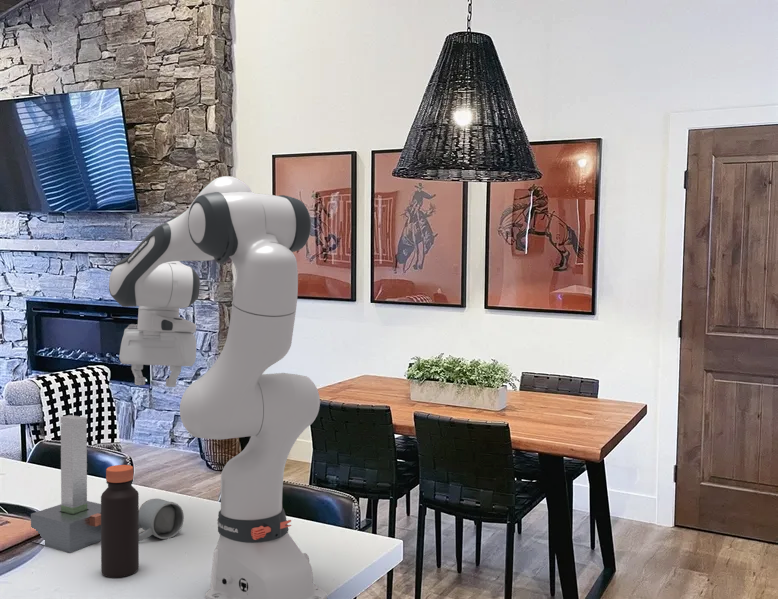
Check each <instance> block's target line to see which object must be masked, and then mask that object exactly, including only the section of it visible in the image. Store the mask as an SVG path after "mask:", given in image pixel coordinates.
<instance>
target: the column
mask: <svg viewBox="0 0 778 599" xmlns="http://www.w3.org/2000/svg"><path fill="white" fill-rule="evenodd" d="M87 420H88V417H86V416H85V417H84V416H79V415H72V414H68V415H64V416H60V491H61V492H60V498H61V500H60V502H61V503H60V504H61V513H65V514H69V515H75V514H78V513H81V512H84V511H87V501H88V472H87V470H88V463H87V462H88V458H87V457H88V451H87V450H88V449H87V447H88V445H87V440H88V438H87V436H88V434H87V427H88V426H87V423H88V421H87Z"/></svg>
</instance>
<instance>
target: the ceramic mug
mask: <svg viewBox="0 0 778 599" xmlns="http://www.w3.org/2000/svg"><path fill="white" fill-rule="evenodd" d="M184 521H185V514H184V511H183V508H182V506H180V505H179V504H178V503H176V502H173V501H169V500H166V499H161V498H150V499H148V500H145V501H144V503H143V504H141V506H140V507H139V530H141V529H142V530H144V531H143V532H139V542H142V541H144V540H146V539H148V538H150V537H151V536H153V537H156V538H158V539H161V540H168V538H169V539H171V537H172V538H174V536H176V535H177V534H178V533H179V532H180V531H181V529H182V527H183V525H184Z"/></svg>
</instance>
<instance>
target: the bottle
mask: <svg viewBox="0 0 778 599" xmlns="http://www.w3.org/2000/svg"><path fill="white" fill-rule="evenodd" d="M105 480H106V482H105V483H106V484H107V488H106V489H105V490H104V491H103V492H102V493H101V496H100V504H101V541H100V554H101V555H100V559H101V560H100V565H101V566H100V567H101V568H100V570H101V573H102V574H101V575H103V576H105V577H107V578H112V579H113V578H117V579H118V578H125V577H128V576H131V575H133V574H135V573H136V572H137V571H138V570H139V567H140V566H139V565H140V564H139V563H140V557H139V556H140V555H139V553H140V552H139V550H140V549H139V548H140V545H139V542H140V541H139V534H140V531H139V530H140V529H139V509H140V507H139V505H140V504H139V500H140V499H139V497H140V496H139V495H140V494H139V492H138V490H137V489H136V488H135V487H133V483H132V482H134V466H132V465H130V464H129V465H128V464H118V465H117V464H116V465H111V466H108V467H107V468H106V469H105Z"/></svg>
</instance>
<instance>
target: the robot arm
mask: <svg viewBox="0 0 778 599" xmlns="http://www.w3.org/2000/svg"><path fill="white" fill-rule="evenodd" d="M311 230H312V220H311V215H310V212H309V210H308V208H307V206H306V205H305V203H304V202H303V201H302V200H300V199H298V198H295V197H292V196H289V195H284V194H280V195H274V194H268V193H256V192H254V191H252V189H251V188H250V186H249V185H248V184H246V183H245V182H244V181H243V180H241V179H239V178H238V177H234V176H229V175H226V176H220V177H217V178H215V179H213V180H212V181H210V182H209V183H207V185H206V186H205V187H204V188H203V189H201V191H200V192H199V193H198V194H197V195H196V197H195V198H194V200H193V201H192V202H191V204H190V206H189V207H188V208H187V209H186V210H185V211H184V212H182V213H181V214H180V215H178V216H176V217H174V218H173V219H171V220H169V221H167V222H165V223H162V224H160V225H158V226H156V227H155V228H153V229H152V230H151V231H150V232H149V233H148V235H146V236H145V237H144V239H142V241H141V242H139V244H138V245H137V246H136V247H135V248H134V249H133V251H131V253H130V254H128V255H127V256H126V257H125V258H122V259H120V261H118V262H116V264H115V265H114V266H113V268H112V269H111V272H110V276H109V282H108V290H109V294H110V296H111V297H112V299H114V300H115V301H116V302H117V303H118V304H119V305H120V307H121V306H122V307H125V308H129V307H131V308H132V307H133V308H135V307H138V312H137V313H138V315H137V324H135V323H131V324H128V326H127V327H125V328H124V331H123V336H122V339H121V343H120V348H119V356H118V357H119V358H118V359H119V361H120V363H121V365H131V367H130V369H131V371H132V374H133V376H134V385H135V386H145V385H146V377H144V376H143V372H142V370H143V369H144V365H145V366H166V367H167V366H169V371H170V374H169V377H168V378H165V387H166V388H167V387H168V388H175V387H176V386H177V379H178V378H179V375H180V374H181V372H182V367H193V366H194V364H195V362H196V359H197V339H196V337H195V335H194V333H196V331H197V324H196V323H194V322H192V321H190V320H187V319H186V318H183V317H181V316H180V310H179V309H185V308H189V307H190V306H192V305H193V304H194V303H195V302H196V301H197V299H199V296H200V286H201V284H200V280H201V279H200V276H199V275H198V273H197V272H196V271H195V269H194V268H193V267H192V266H189V265H186V264H183V263H182V262H186V261H187V262H198V261H199V262H200V261H201V262H202V261H203V262H204V261H207V262H208V261H212V260H215V262H216V263H218V264H220V265H223V264H225V263H226V262H227V261H228V260H229V258H230V260H231V261H232V263H233V265H234V267H235V284H234V289H233V296H232V303H231V311H230V318H229V324H228V325H229V326H228V330H227V336H226V340H225V343H224V346H223V348H222V349H221V352H220V354H219V356H218V357H217V359H216V361H214V363H213V364H212V366H211V367H210V368H209V369H208V370H207V371H206V372H205V373H204V374H203V375H202V376H201V377H200V378H198V379H196V380H195V381H193V382H192V383H190V385H188V386H187V387H186V389H185V390H184V392H183V394H182V397H181V399H180V403H179V415H180V420H181V423H182V426H183V428H185V430H186V432H188V433H189V434H190V435H191V436H192V437H193V438H200V439H207V440H209V439H210V440H227V439H228V440H229V439H237V438H245V437H249V441H248V443H247V444H246V445H245V447H244V449H243V450H242V451H241V452H240V453H238V454H236V455H235V456H233V457H232V458H230V459H229V460H228V461H227V463H225V465H224V466H223V469H222V471H221V472H220V509H219V511H218V516H217V532H218V533H219V538H218V542H217V544H216V547H215V549H214V551H213V554H212V566H211V575H210V587H209V590H207V591H206V593H205V596H204V599H328V594H327V592H326V591H325V590H323V589H322V588H320V587H319V585H317V584H315V583H314V573H313V568H312V564H311V563H310V557H309V555H308V553H306V552H302V550H301V549H300V548H299V546H298V545H297V543H296V542H295V541H294V539H293V537H292V536H291V535H290V533H289V527H291V526H292V525H291V524H289V523H291V522H292V519H288V520H287V515H286V512H285V509H284V508H283V484H284V475H285V468H286V467H285V466H286V463H287V460H288V457H289V455H290V452H291V450H292V448H293V446H294V445H295V443H296V442H297V439H299V437H300V436H301V435H302V433H304V431H305V430H306V429H307V428H309V427H310V426H311V425H312V424H313V423H314V421H315V420H316V418H317V417H318V415H319V411H320V407H321V406H320V405H321V397H320V393H319V390H318V388H317V385H316V384H315V383H314V381H313V380H312V379H311V378H310V377H308V376H307V375H300V374H297V373H288V372H287V373H286V372H278V373H277V372H276V373H275V372H274V373H265V372H266V371H267V369H269V368H270V367H272V366H273V365H275V364H276V363H278V362H279V361H281V360H283V358H285V356H286V355H287V354H288V353H289V350H290V349H291V347H292V340H293V336H294V334H293V333H294V326H295V321H296V313H297V304H298V294H299V292H298V291H299V289H298V288H299V273H298V271H299V270H298V261H297V258H296V256H295V253H294V252H298V251H301V250H302V249H303V248H305V245H306V244H307V242H308V240H309V238H310V236H311Z"/></svg>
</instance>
